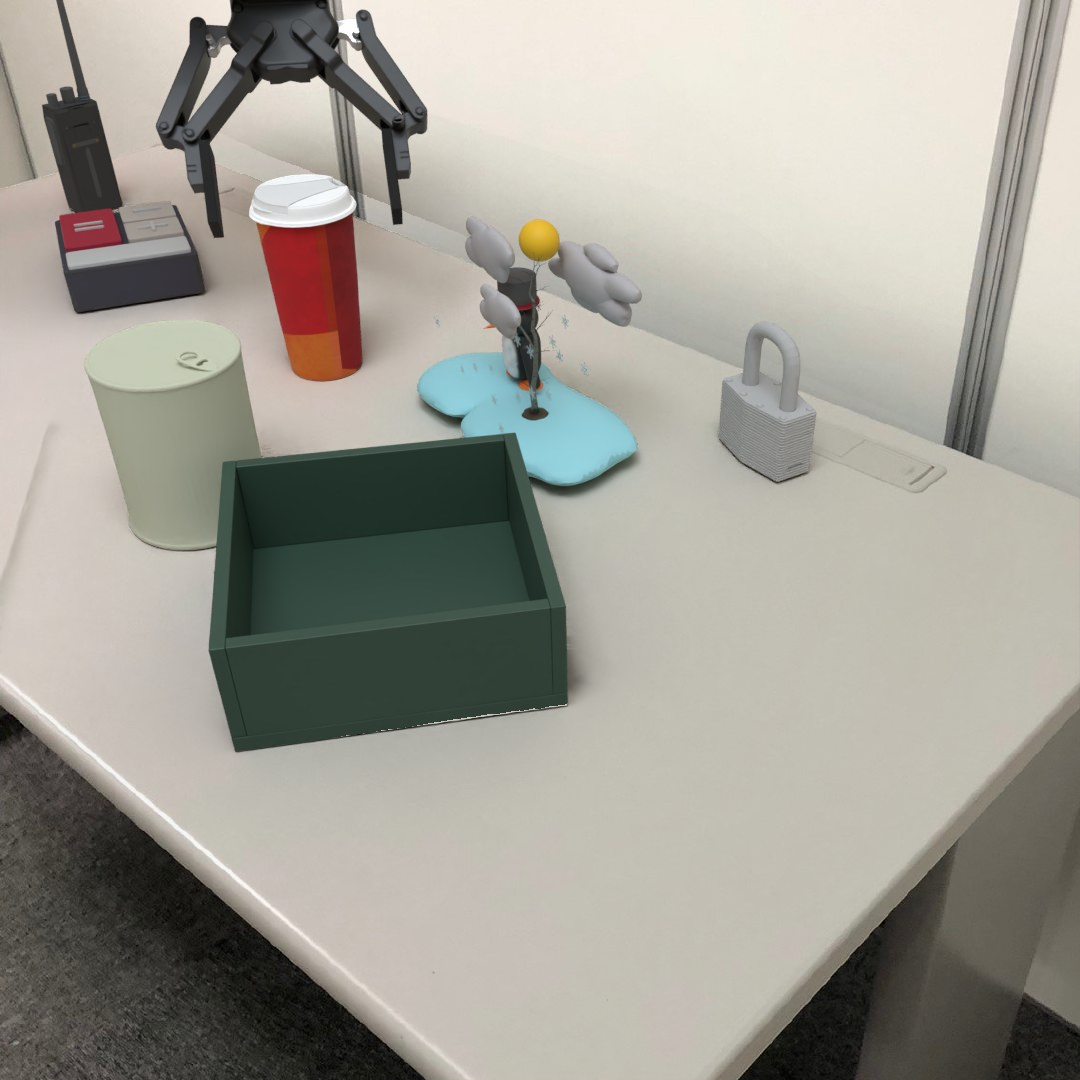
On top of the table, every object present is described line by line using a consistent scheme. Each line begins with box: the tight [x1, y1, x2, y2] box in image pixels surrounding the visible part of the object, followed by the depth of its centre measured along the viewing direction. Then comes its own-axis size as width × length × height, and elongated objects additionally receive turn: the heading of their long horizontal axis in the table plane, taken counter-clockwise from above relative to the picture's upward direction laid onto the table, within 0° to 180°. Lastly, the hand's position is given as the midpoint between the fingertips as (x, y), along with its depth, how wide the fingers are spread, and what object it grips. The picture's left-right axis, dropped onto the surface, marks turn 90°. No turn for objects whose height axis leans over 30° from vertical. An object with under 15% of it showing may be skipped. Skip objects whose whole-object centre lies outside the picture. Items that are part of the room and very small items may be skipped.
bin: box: [207, 433, 569, 753], centre depth 69 cm, size 18×18×7 cm
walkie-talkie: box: [41, 0, 123, 213], centre depth 117 cm, size 5×3×20 cm
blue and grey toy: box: [416, 216, 643, 487], centre depth 84 cm, size 20×11×15 cm, turn 32°
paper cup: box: [248, 173, 363, 382], centre depth 92 cm, size 8×8×14 cm
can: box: [83, 319, 263, 551], centre depth 77 cm, size 9×9×12 cm
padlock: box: [717, 320, 817, 483], centre depth 83 cm, size 7×4×10 cm, turn 31°
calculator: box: [54, 200, 206, 313], centre depth 109 cm, size 11×4×15 cm
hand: (308, 224), depth 93 cm, fingers open, 13 cm apart
